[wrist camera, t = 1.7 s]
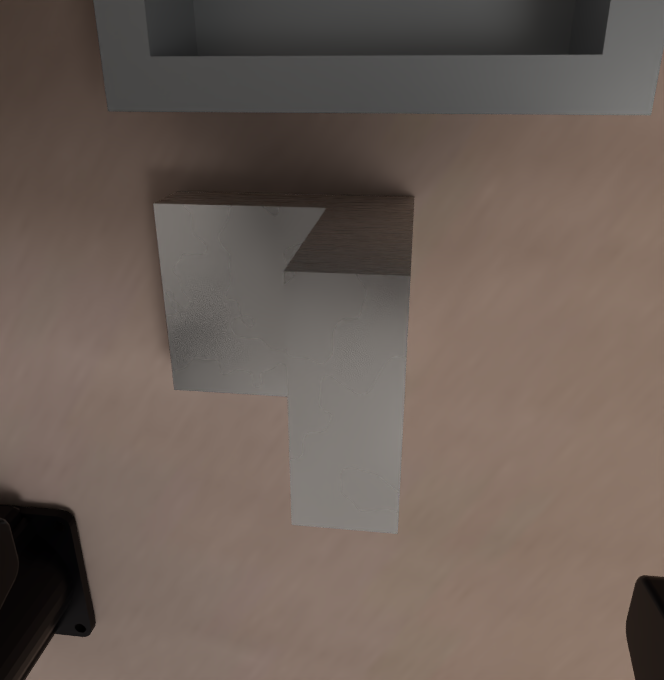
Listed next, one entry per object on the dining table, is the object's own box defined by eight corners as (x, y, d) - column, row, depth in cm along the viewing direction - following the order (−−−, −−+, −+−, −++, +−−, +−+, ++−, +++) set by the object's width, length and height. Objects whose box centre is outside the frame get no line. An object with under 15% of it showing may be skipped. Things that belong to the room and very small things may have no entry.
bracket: (405, 375, 21) (397, 534, 14) (194, 363, 22) (83, 507, 15) (414, 196, 19) (410, 275, 12) (177, 191, 20) (36, 262, 13)
